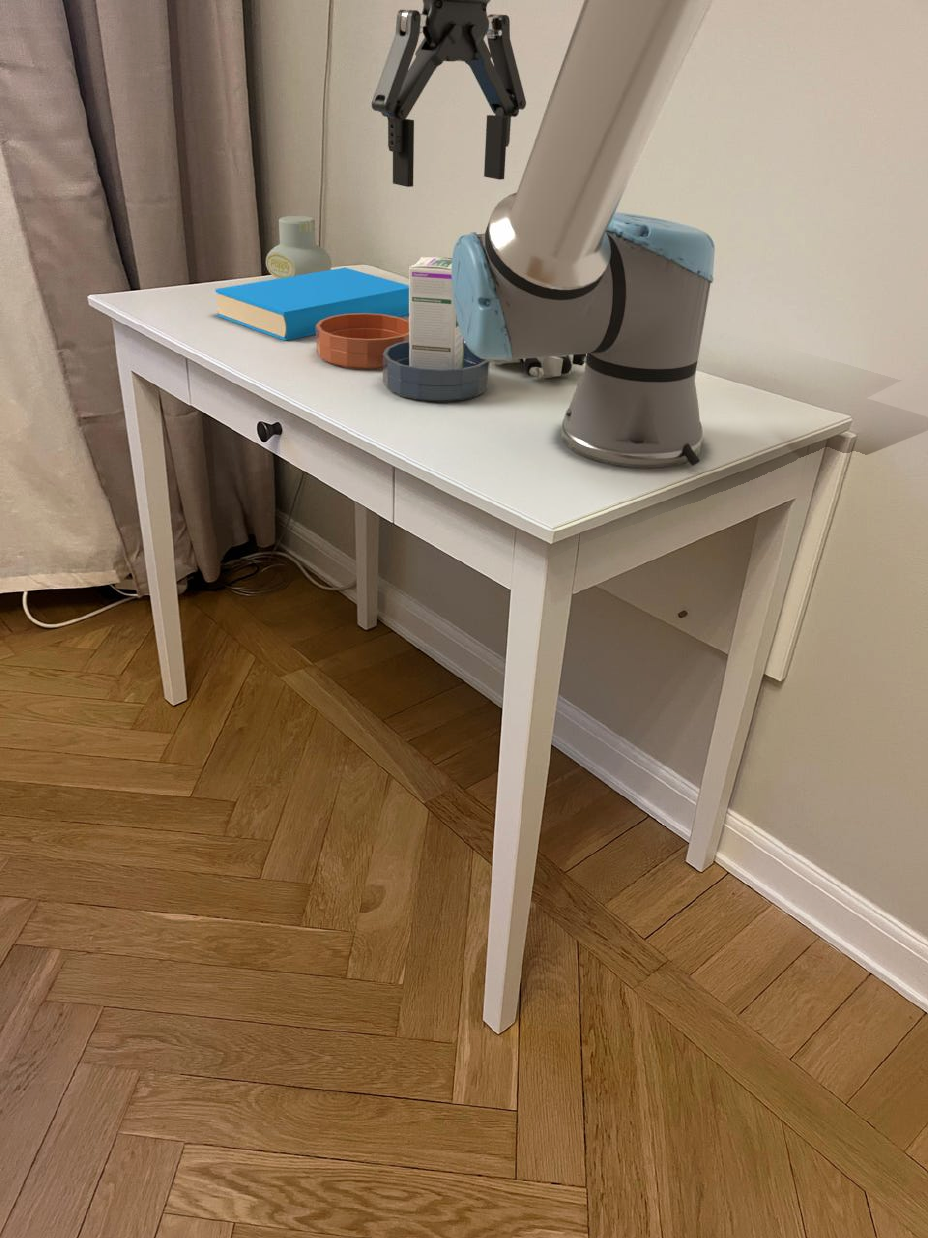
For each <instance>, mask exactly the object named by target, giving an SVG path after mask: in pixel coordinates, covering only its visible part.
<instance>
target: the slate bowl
mask: <svg viewBox="0 0 928 1238" xmlns="http://www.w3.org/2000/svg"><path fill="white" fill-rule="evenodd" d="M490 365H491V362H490V359H481V358H479V357H478V356H476V355H474V354H473V353H472V352H471V351H470V350H469V348H468V347H467V345H466V343H465V342H464V364H463V368H462V369H446V370H438V369H423V368H417V367H412V366H409V341H406V342H400V343H396V344H394V345H392V346H389V347H387V348H386V349H385V351H384V353H383V369H382V383H383V385H385V388H386V389H387V390H389V391H391V392H393V393H394V394H397V395H399V396H401V397H404V398H407V399H411V400H417V401H422V402H436V403H440V402H441V403H445V402H447V403H448V402H459V401H464V400H467V399H472V398H474V397H477V396H478V395H480V394H482V393H484V392H485V391H488V388H489V383H490Z"/></svg>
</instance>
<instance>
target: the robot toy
mask: <svg viewBox="0 0 928 1238" xmlns="http://www.w3.org/2000/svg"><path fill="white" fill-rule="evenodd" d="M586 357H587V354H576V355H563V356H551V357H538V358H526V359H513V360H512V361H507V360H490V363H491V364H493V365H499V366H500V365H501V366H502V365H505V364H518V363H522V364H523V370H524V372H525V374H526V375H527V376H529V377H538V378H540V379H550V378H555V377H561V376H562V375H570V374H571V373H572V368H573V365H577V366H581V367H582V366H584V364H586Z"/></svg>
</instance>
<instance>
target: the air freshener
mask: <svg viewBox="0 0 928 1238" xmlns="http://www.w3.org/2000/svg"><path fill="white" fill-rule="evenodd" d="M278 219H279V220H278V232H279V244H277V245H276V246H274V247H272V249H270V250H269V252H268V253H267V254H266V256H265V266H266V269H267V271H268V272H269V273H270V275H271V276H272V277H274V279H279V278H285V277H291V276H297V275H303V274H309V273H315V272H321V271H327V270H332V257H331V256H330V255H329V253H328V252H327V251H326V250H325V248H322V246H319V244H318V245H317V244H316V243H317V242H316V221H315V219H314V218H313V217H310V216H305V215H287V216H282V217H280V218H278Z"/></svg>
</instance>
